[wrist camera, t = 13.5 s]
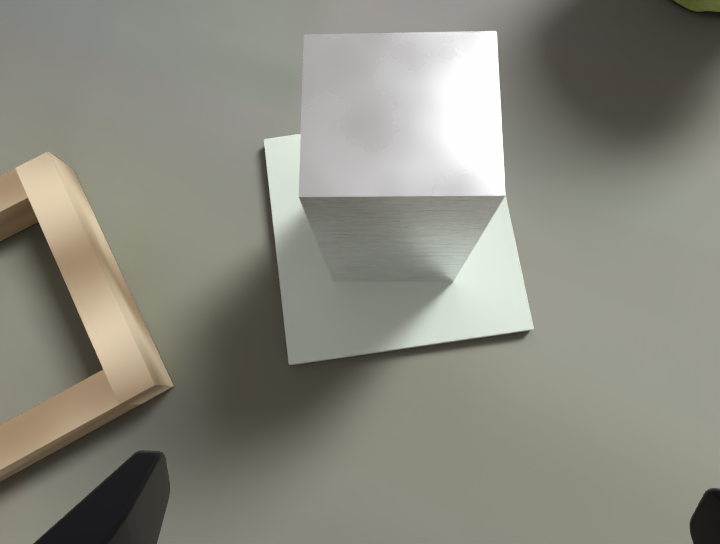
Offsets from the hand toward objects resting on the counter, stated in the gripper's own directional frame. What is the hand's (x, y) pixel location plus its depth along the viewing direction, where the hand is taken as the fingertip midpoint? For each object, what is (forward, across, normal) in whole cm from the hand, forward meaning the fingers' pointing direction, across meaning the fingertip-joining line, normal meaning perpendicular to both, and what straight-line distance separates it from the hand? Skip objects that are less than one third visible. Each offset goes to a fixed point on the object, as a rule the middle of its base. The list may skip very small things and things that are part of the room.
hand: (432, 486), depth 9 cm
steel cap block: (+15, 0, +3) cm, 15 cm away
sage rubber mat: (+16, 0, +3) cm, 16 cm away
